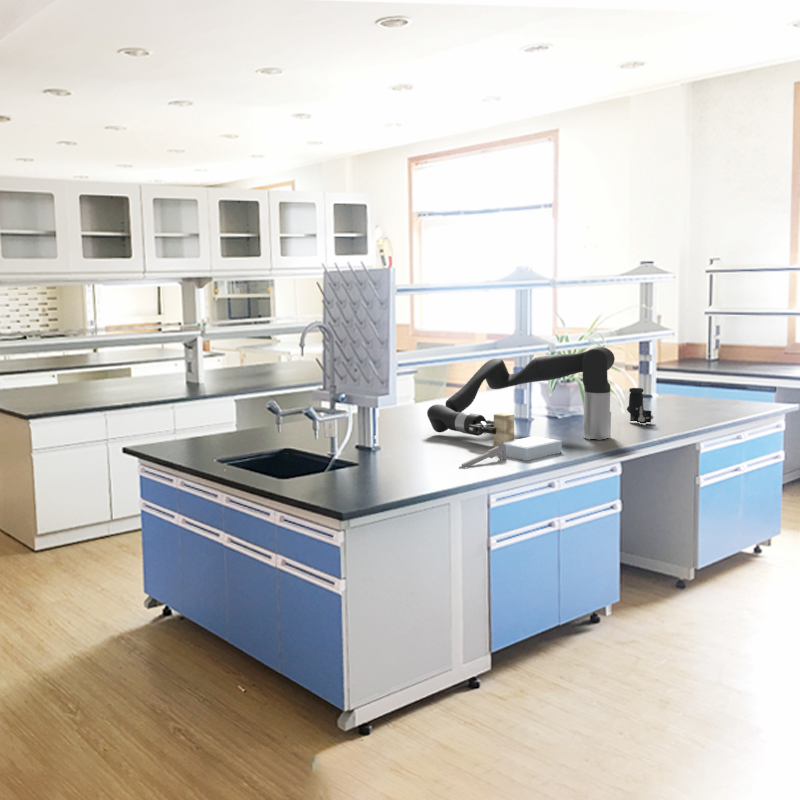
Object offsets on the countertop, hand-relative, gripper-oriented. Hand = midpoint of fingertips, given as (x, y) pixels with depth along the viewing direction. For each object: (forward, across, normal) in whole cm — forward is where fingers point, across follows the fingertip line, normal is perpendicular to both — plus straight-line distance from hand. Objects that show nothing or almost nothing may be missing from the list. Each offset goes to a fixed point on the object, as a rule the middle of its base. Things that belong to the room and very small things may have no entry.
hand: (504, 429), depth 292 cm
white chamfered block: (+12, 0, +7) cm, 14 cm away
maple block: (0, 0, +7) cm, 7 cm away
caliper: (+11, -22, +7) cm, 26 cm away
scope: (+4, +75, +7) cm, 75 cm away
